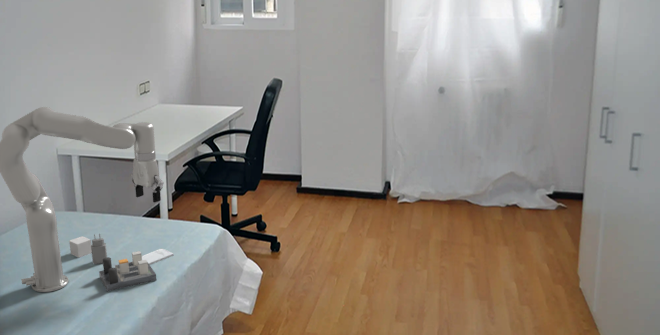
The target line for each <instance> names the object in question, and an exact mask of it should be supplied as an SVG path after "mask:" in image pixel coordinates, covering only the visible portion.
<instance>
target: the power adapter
mask: <svg viewBox="0 0 660 335" xmlns="http://www.w3.org/2000/svg"><path fill="white" fill-rule="evenodd" d="M93 236H94V238H93V239H91V251H92V253H91V258H92V264H93V265H97V264H98V265H99V264H100V265H101V264H103V258H106V257H108V252H107V245H106V244H107V243H105V241H104V240H105V239H104V238H102V237H101V234H100V233H99V234H98V236H99V238H96V233H94V234H93Z"/></svg>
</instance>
